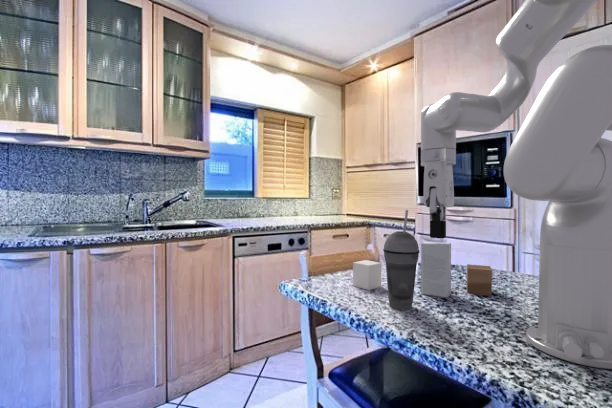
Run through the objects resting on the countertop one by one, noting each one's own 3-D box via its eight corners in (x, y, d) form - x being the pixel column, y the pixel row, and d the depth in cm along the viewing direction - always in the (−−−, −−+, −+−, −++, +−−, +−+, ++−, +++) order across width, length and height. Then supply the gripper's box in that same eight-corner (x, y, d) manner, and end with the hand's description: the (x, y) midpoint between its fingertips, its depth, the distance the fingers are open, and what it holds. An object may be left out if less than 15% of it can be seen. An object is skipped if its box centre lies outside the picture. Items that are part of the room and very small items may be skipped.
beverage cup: (394, 298, 73) (395, 208, 72) (425, 306, 68) (426, 209, 67) (375, 306, 68) (376, 209, 67) (408, 315, 63) (409, 210, 62)
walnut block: (491, 296, 75) (492, 270, 75) (467, 293, 78) (467, 268, 77) (489, 290, 80) (489, 266, 80) (466, 288, 82) (467, 264, 82)
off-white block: (368, 290, 80) (368, 265, 80) (352, 285, 84) (353, 262, 83) (381, 286, 83) (381, 262, 83) (365, 282, 87) (365, 260, 87)
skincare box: (451, 293, 77) (452, 242, 77) (448, 298, 73) (448, 245, 73) (424, 289, 80) (425, 240, 80) (420, 294, 77) (420, 242, 76)
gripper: (448, 153, 68) (448, 242, 68) (461, 161, 80) (461, 236, 80) (412, 156, 72) (411, 239, 72) (429, 163, 84) (429, 234, 84)
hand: (437, 237), depth 76 cm, fingers closed
